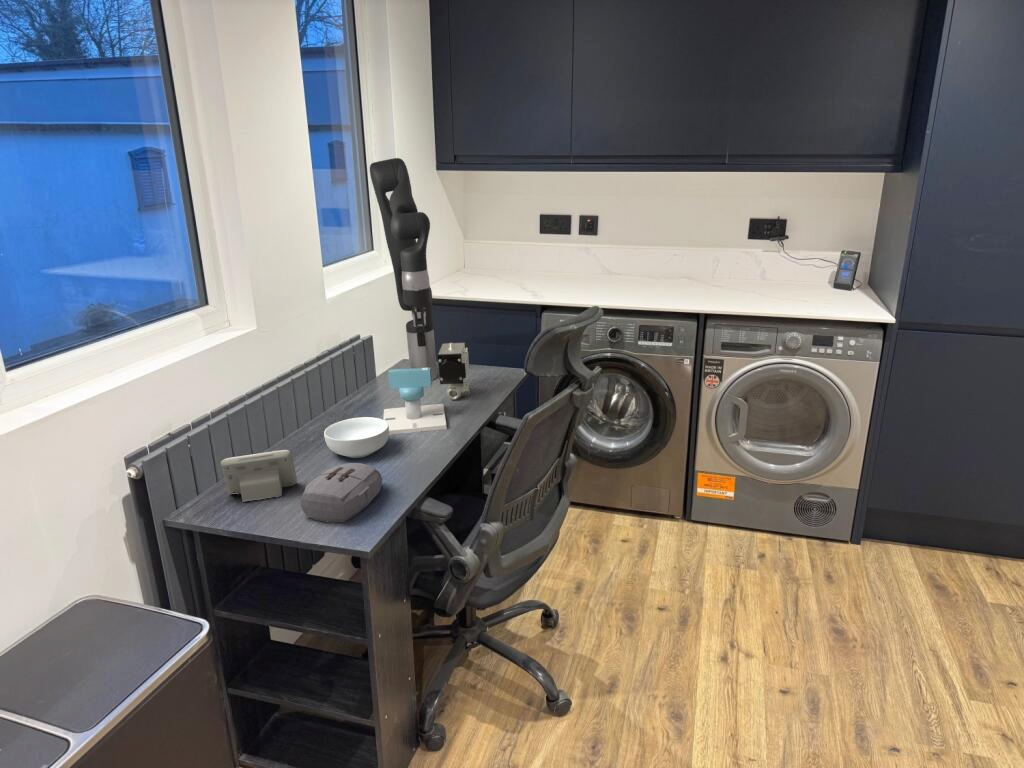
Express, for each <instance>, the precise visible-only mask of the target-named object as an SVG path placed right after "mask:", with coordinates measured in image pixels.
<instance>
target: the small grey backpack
mask: <svg viewBox="0 0 1024 768" xmlns="http://www.w3.org/2000/svg"><path fill="white" fill-rule="evenodd" d="M382 482H383V477H382V475H381V472H380V471H379V470H378V469H376V467H374V466H371V465H368V464H364V463H361V462H347V463H343V464H340V465H336V466H333V467H330V468H328V469H327V470H325V471H323V472H322V473H321V474H319V476H318V477H316V478H314V479H312V481H310V482H309V483H308V484H306V486H305V489H304V491H303V494H302V496H301V499H300V507H301V510H302V512H303V514H305V516H306V517H307V518H309V519H312V518H313V520H314V519H317V520H316V521H319V520H322V521H321V522H325V521H328V523H334V522H337V523H344V522H346V521H347V520H350V519H351V518H353V517H355V516H356V515H358V514H359V513H360V512H361V510H365V508H366V507H368V505H370V504H371V502H372V501H373V500H374V498H375V497H376V496H377V495H378V494H379V493H380V491H381V490H382V484H383V483H382Z"/></svg>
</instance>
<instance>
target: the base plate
mask: <svg viewBox="0 0 1024 768" xmlns="http://www.w3.org/2000/svg"><path fill="white" fill-rule="evenodd" d="M404 405H405V406H402V407H392V408H385V409H383V419H382V420H385V421H386V422H387V423H388V425H389V436H390V435H398V434H399V435H400V434H409V433H419V432H421V431H422V432H429V431H430V432H431V431H440V430H442V431H443V430H447V429H448V428H447V420H446V414H445V408H444V403H437V404H427V405H421V398H419V399H415V400H404ZM422 432H421V433H422Z"/></svg>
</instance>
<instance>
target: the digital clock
mask: <svg viewBox="0 0 1024 768" xmlns="http://www.w3.org/2000/svg"><path fill="white" fill-rule="evenodd" d="M220 467H221V470H222V471H221V472H222V475H223V477H224V478H223V479H224V482H225V484H226V485H225V486H226V488H227V492H228V494H230V493H240V492H241V494H240V495H241V501H242V502H243V500H250V499H259V498H266V497H267V498H268V497H276V498H278V497H277V496H283V488H287V487H292V486H295V485H296V484H297V481H298V478H297V473H296V468H295V462H294V457H293V454H292V452H291V451H290V449H289V450H288V449H282V450H281V449H280V450H274V451H266V452H258V453H253V454H252V453H251V454H246V455H241V456H240V455H239V456H232V457H226V458H224V459H223V460H220ZM282 487H283V488H282Z"/></svg>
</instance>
